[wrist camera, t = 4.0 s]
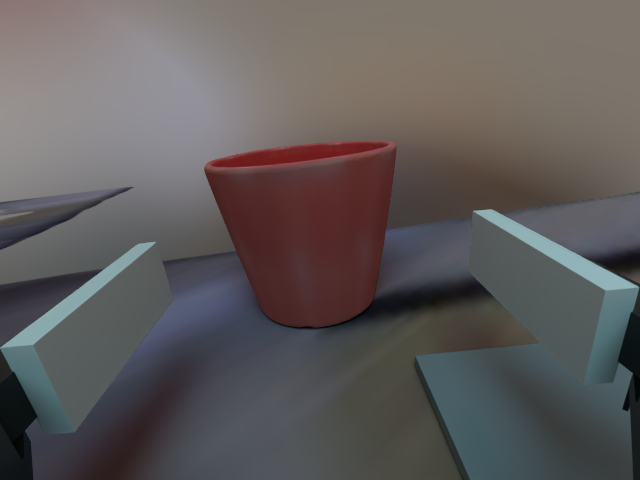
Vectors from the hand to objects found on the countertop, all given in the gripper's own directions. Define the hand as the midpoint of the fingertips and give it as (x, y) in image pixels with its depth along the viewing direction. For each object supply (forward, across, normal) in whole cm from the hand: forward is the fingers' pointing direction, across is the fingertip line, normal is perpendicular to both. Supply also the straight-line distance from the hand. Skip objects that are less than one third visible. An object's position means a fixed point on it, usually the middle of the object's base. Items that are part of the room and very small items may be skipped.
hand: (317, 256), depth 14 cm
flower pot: (+7, 0, -6) cm, 10 cm away
